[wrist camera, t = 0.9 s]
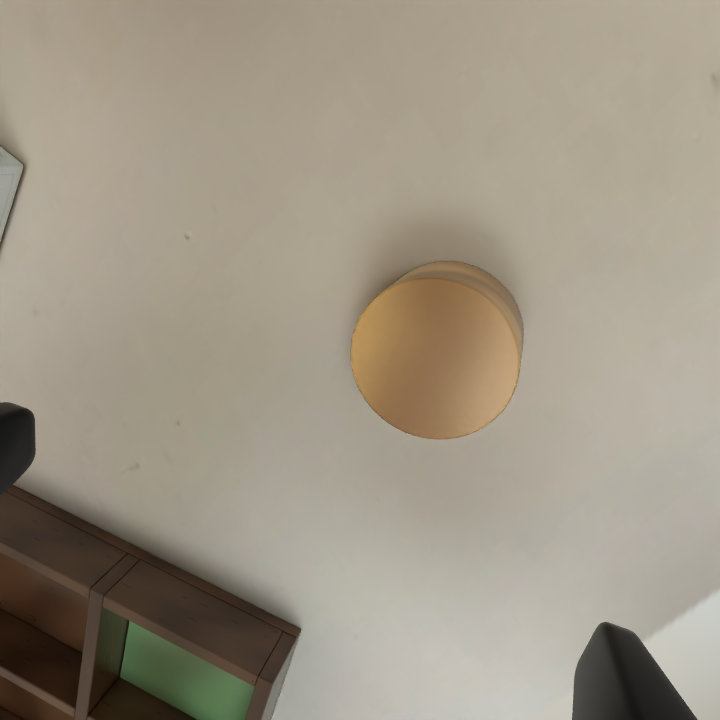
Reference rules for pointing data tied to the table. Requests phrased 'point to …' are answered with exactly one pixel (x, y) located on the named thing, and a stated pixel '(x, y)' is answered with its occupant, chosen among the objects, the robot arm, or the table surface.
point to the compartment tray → (123, 630)
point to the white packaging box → (7, 184)
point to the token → (439, 350)
